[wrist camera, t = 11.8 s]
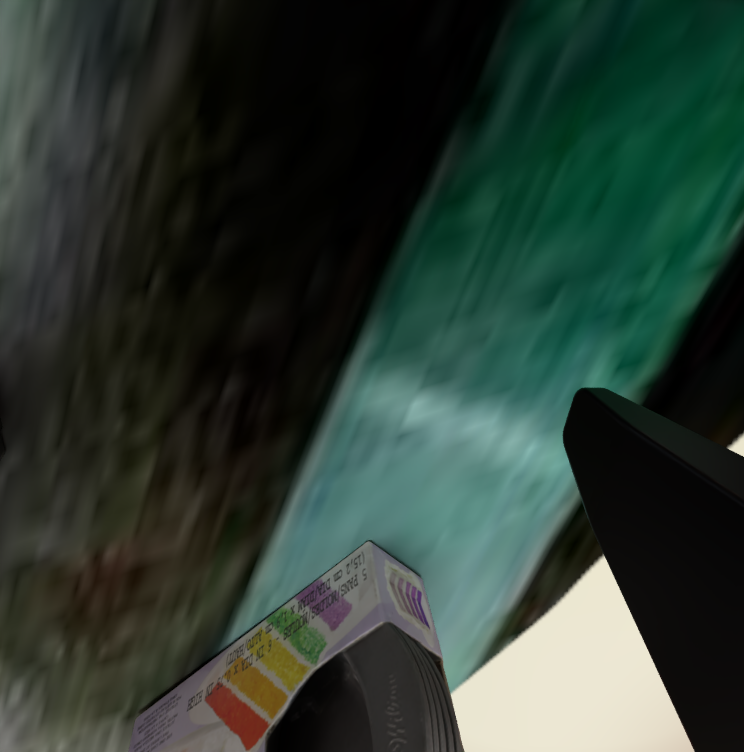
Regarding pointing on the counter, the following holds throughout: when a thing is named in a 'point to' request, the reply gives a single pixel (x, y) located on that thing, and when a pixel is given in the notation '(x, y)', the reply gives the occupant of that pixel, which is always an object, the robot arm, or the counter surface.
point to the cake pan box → (321, 675)
